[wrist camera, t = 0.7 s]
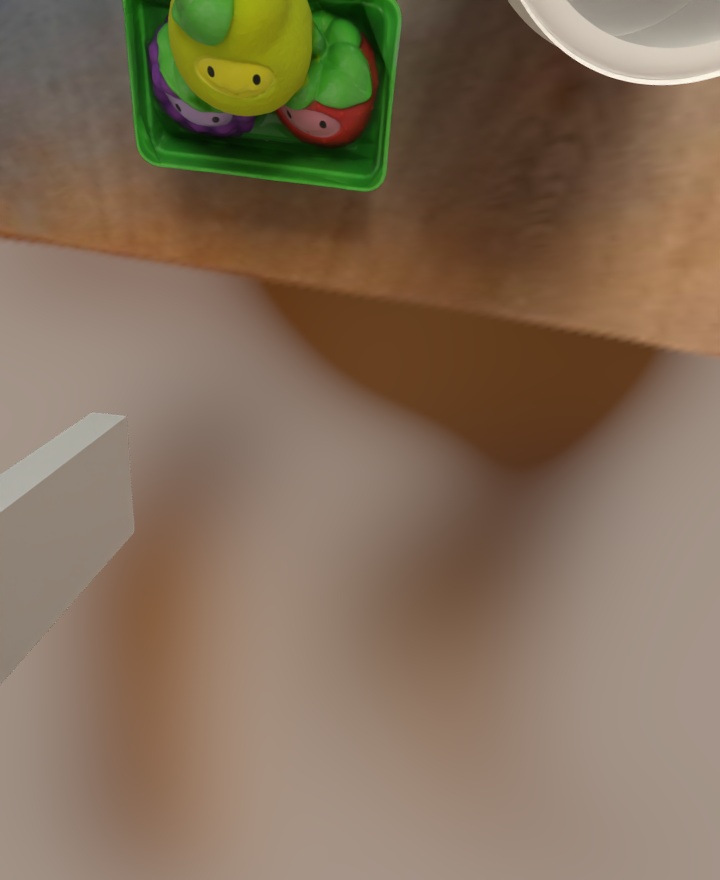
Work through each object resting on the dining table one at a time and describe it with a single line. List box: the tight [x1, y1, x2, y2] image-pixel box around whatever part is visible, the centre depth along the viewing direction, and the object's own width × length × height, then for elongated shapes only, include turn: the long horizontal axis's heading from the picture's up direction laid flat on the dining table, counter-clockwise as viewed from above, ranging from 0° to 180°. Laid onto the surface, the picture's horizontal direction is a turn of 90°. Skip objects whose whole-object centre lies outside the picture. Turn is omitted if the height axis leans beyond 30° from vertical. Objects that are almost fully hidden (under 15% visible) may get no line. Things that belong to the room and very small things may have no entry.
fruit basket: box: [122, 0, 402, 192], centre depth 28 cm, size 11×9×11 cm
